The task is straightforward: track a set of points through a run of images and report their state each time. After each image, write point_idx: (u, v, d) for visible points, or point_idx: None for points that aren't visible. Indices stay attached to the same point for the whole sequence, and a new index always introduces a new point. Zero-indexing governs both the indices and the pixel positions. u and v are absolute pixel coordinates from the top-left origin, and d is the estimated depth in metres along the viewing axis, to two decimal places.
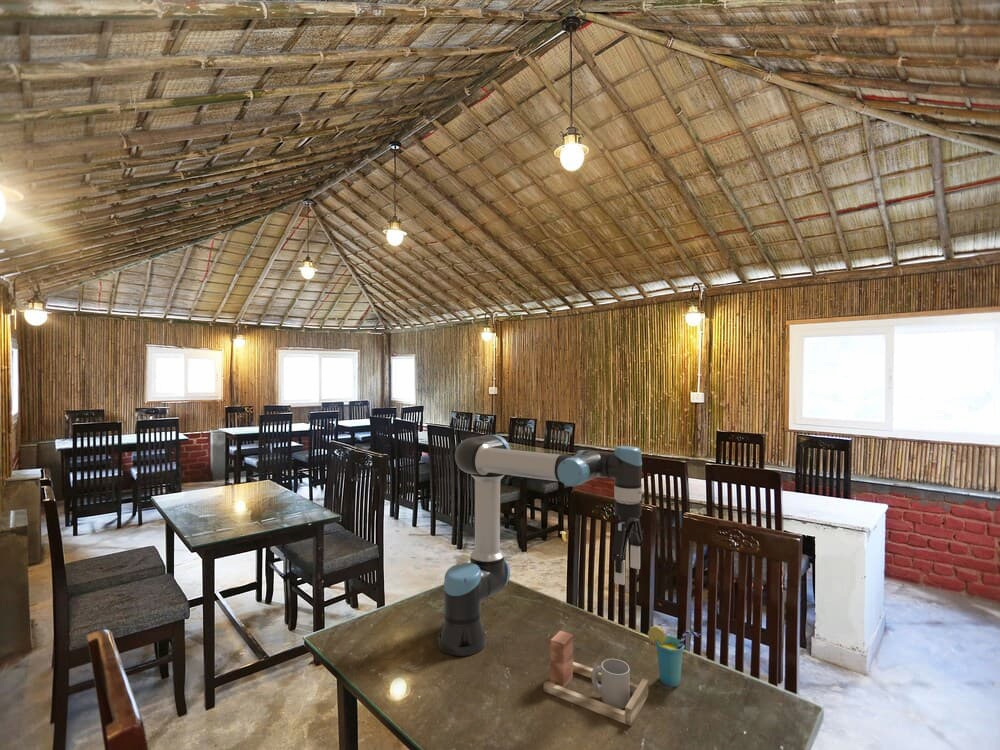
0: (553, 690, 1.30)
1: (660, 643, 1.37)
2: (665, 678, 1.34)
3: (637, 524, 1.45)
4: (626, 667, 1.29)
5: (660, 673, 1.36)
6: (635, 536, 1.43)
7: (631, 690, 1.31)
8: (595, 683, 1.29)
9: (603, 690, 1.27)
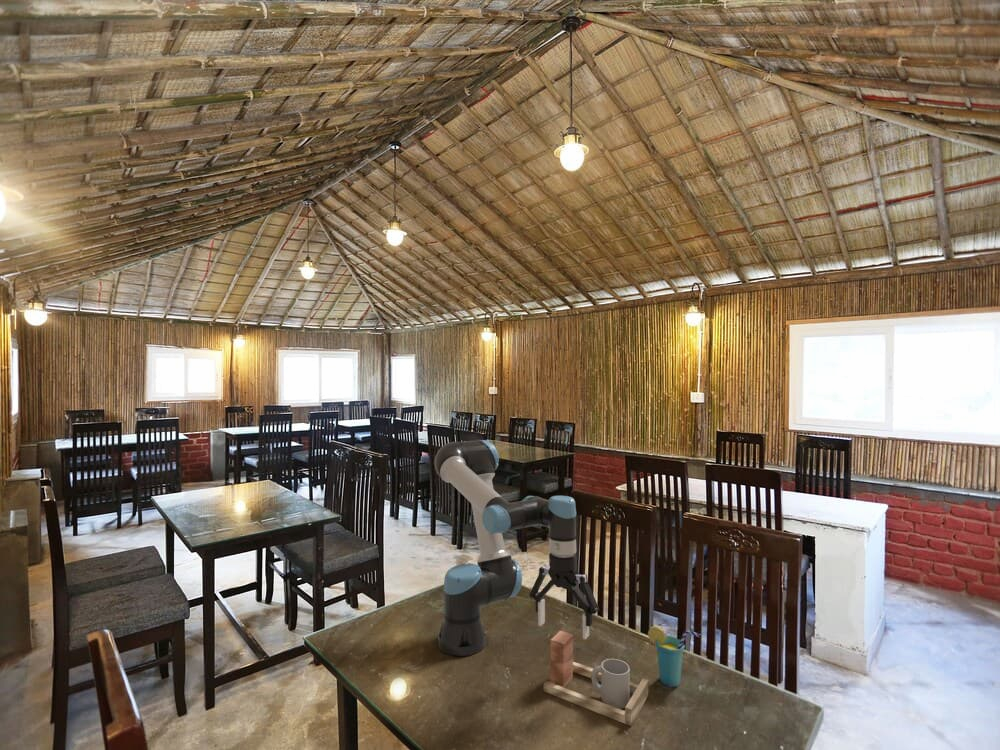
0: (553, 690, 1.30)
1: (660, 643, 1.37)
2: (665, 678, 1.34)
3: (582, 588, 1.32)
4: (626, 667, 1.29)
5: (660, 673, 1.36)
6: None
7: (631, 690, 1.31)
8: (595, 683, 1.29)
9: (603, 690, 1.27)
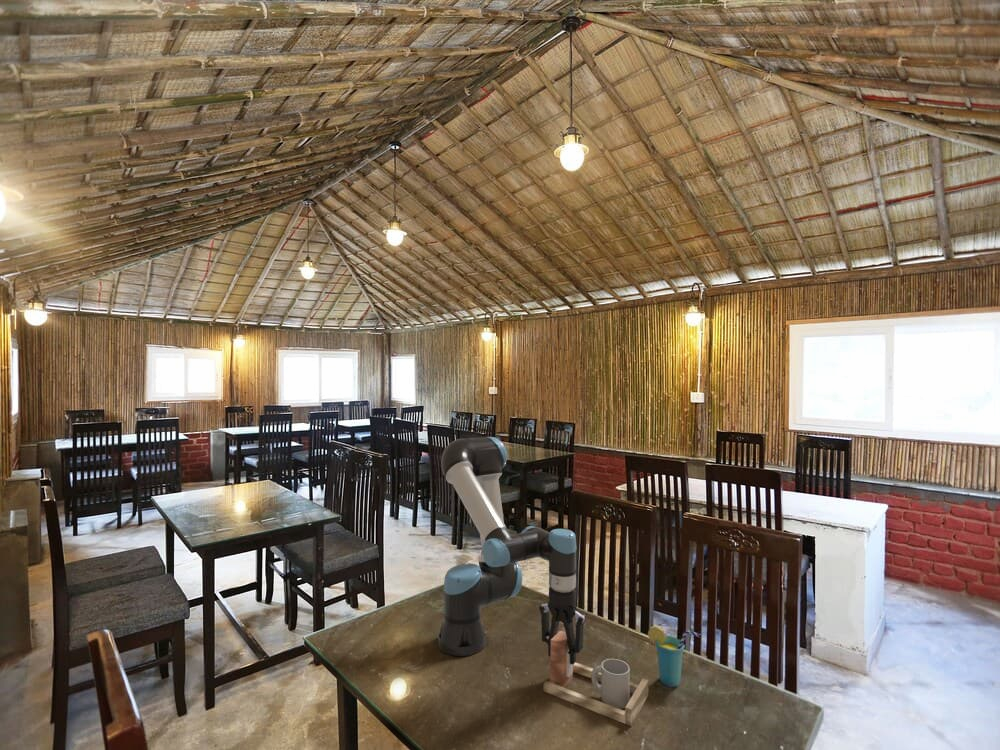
0: (553, 690, 1.30)
1: (660, 643, 1.37)
2: (665, 678, 1.35)
3: None
4: (626, 667, 1.29)
5: (660, 673, 1.36)
6: None
7: (631, 690, 1.31)
8: (595, 683, 1.29)
9: (603, 690, 1.27)
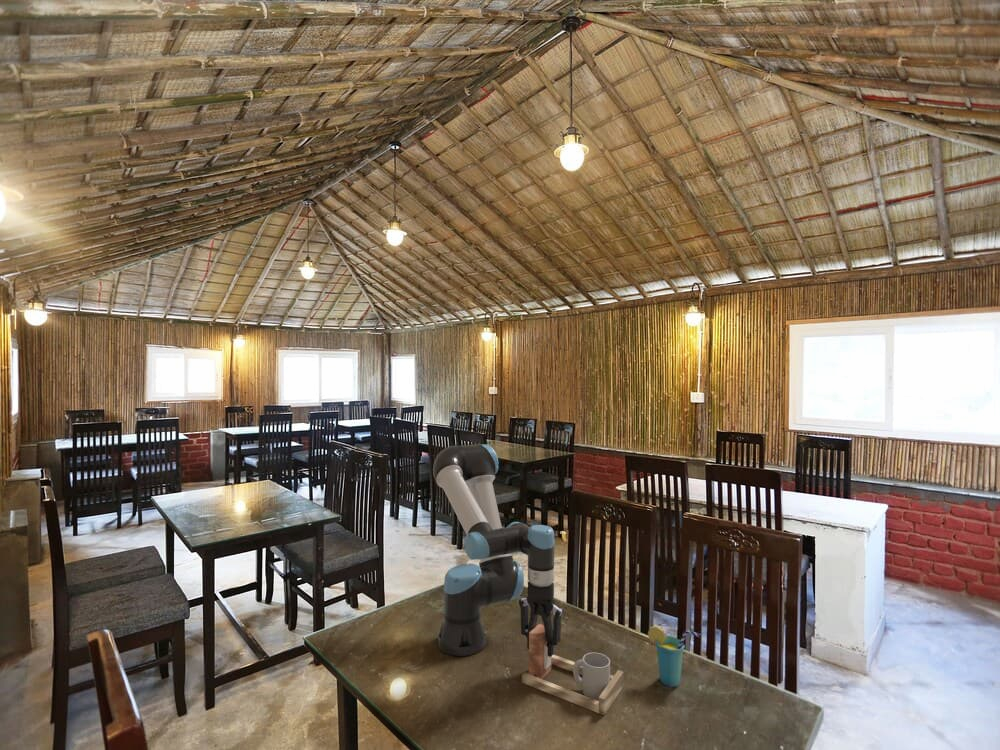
0: (531, 681, 1.33)
1: (660, 643, 1.37)
2: (665, 678, 1.35)
3: (554, 619, 1.37)
4: (607, 661, 1.32)
5: (660, 673, 1.36)
6: None
7: None
8: (576, 676, 1.32)
9: (584, 683, 1.29)
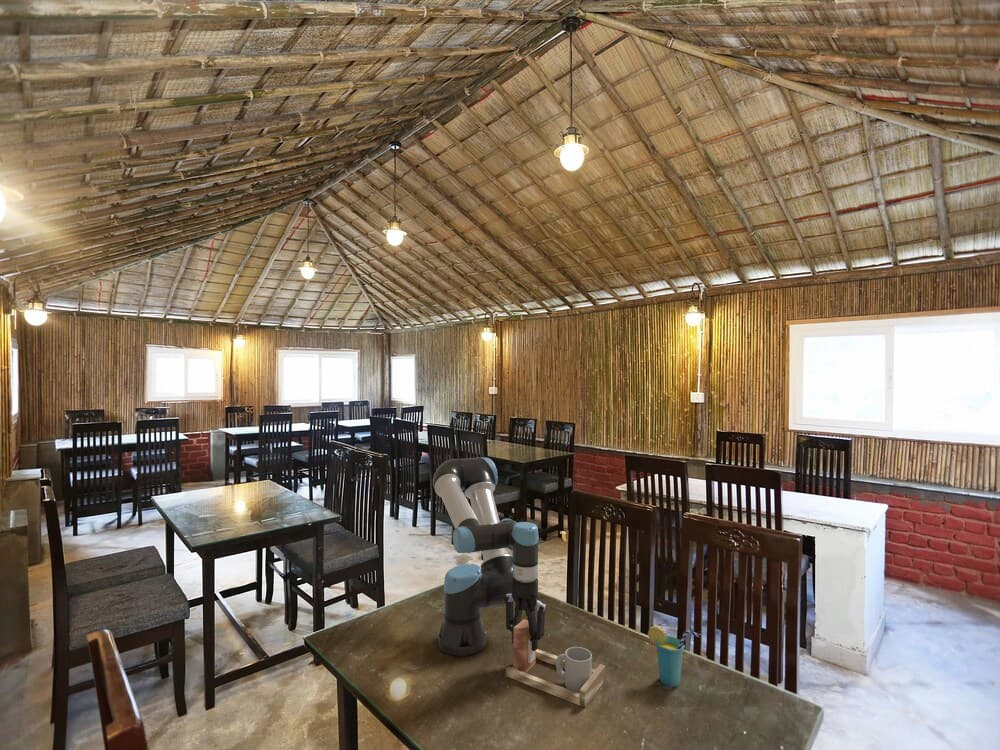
0: (514, 675, 1.36)
1: (660, 643, 1.37)
2: (665, 678, 1.34)
3: None
4: (589, 655, 1.35)
5: (660, 673, 1.36)
6: None
7: None
8: (559, 670, 1.35)
9: (566, 676, 1.32)
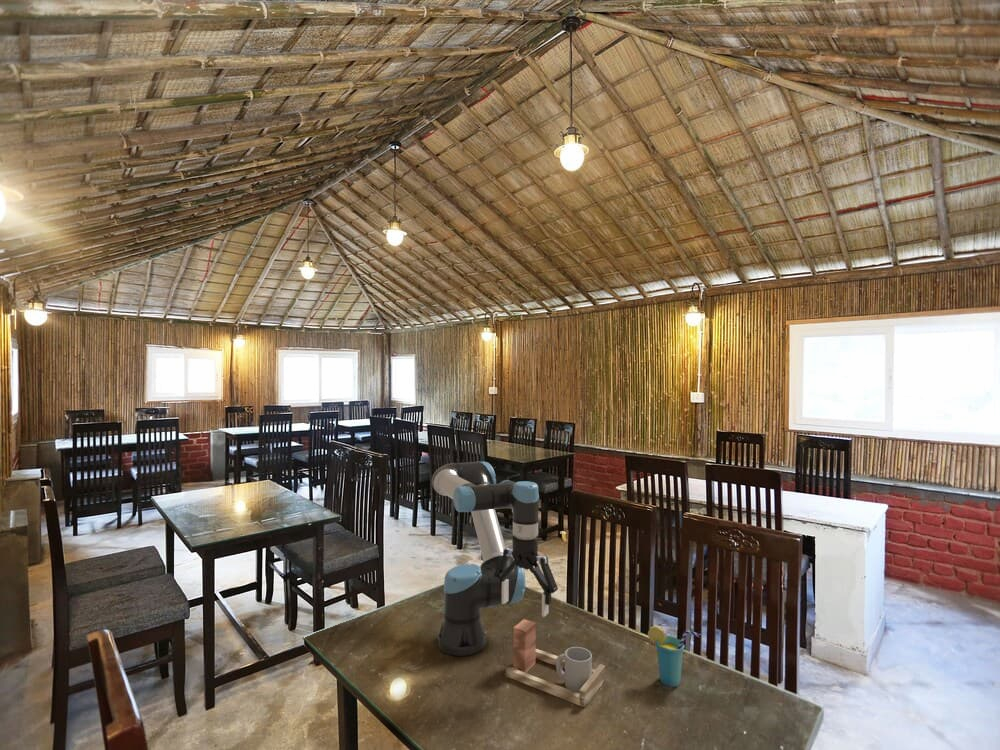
0: (514, 675, 1.36)
1: (660, 643, 1.37)
2: (665, 678, 1.34)
3: (542, 568, 1.39)
4: (589, 655, 1.35)
5: (660, 673, 1.36)
6: None
7: None
8: (559, 670, 1.35)
9: (566, 677, 1.32)
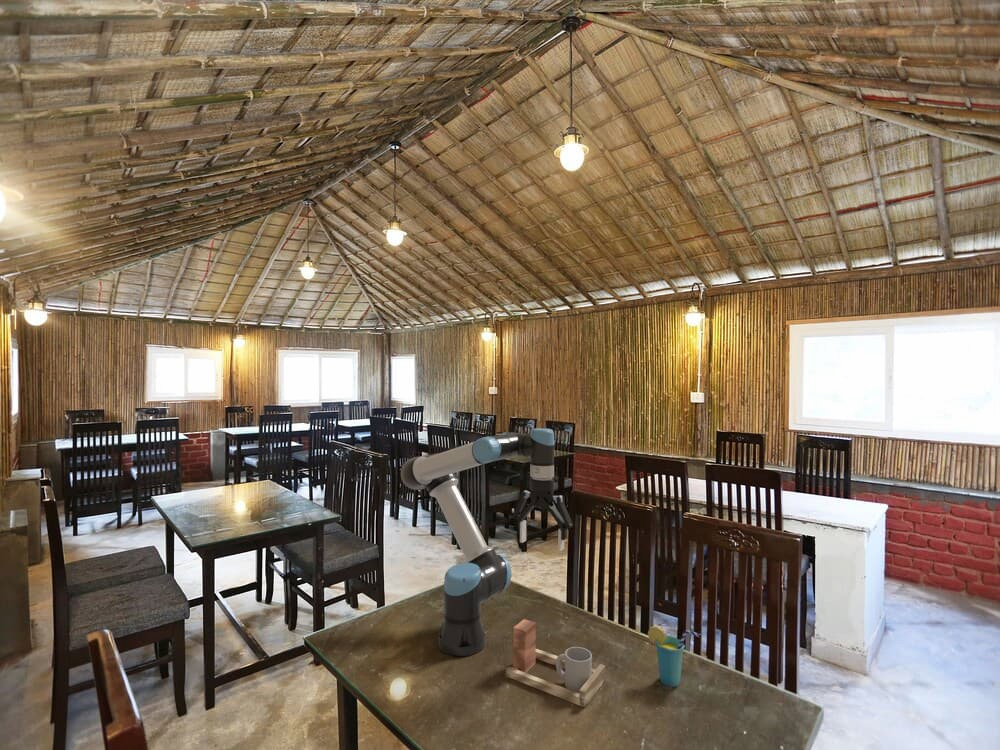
0: (514, 675, 1.36)
1: (660, 643, 1.37)
2: (665, 678, 1.35)
3: None
4: (589, 655, 1.35)
5: (660, 673, 1.36)
6: None
7: None
8: (559, 670, 1.35)
9: (566, 677, 1.32)
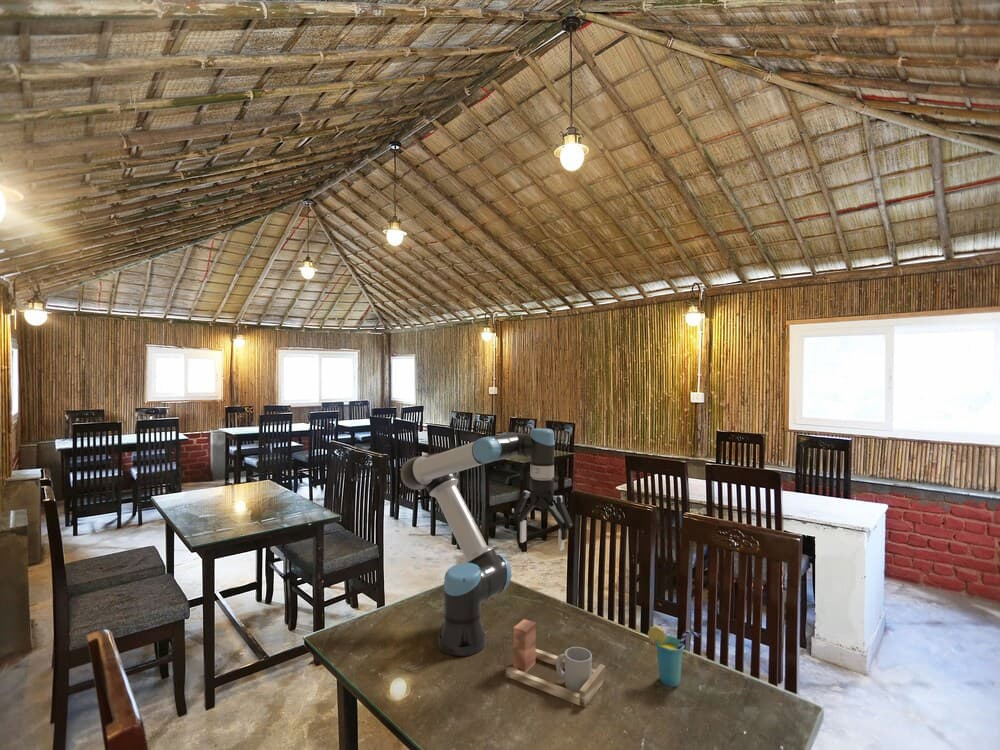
0: (514, 675, 1.36)
1: (660, 643, 1.37)
2: (665, 678, 1.35)
3: None
4: (589, 655, 1.35)
5: (660, 673, 1.36)
6: None
7: None
8: (559, 670, 1.35)
9: (566, 677, 1.32)
